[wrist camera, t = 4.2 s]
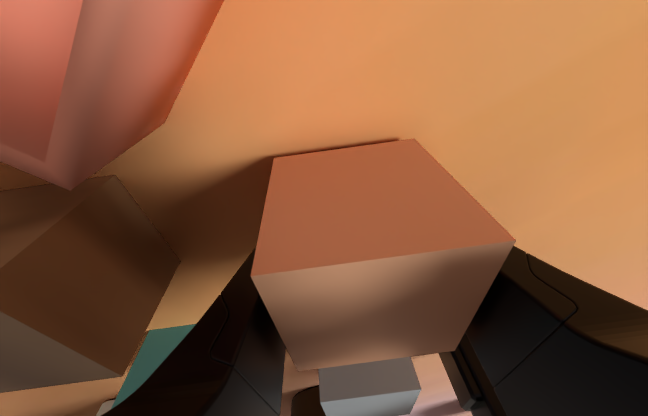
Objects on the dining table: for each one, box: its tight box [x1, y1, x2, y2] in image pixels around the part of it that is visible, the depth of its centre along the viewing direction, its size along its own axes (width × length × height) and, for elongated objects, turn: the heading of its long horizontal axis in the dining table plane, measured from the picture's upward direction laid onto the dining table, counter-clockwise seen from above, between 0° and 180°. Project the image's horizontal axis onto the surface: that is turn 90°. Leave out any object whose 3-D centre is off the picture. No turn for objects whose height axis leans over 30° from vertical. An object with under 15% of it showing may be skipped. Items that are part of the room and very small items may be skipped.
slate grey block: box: [318, 357, 421, 416], centre depth 15 cm, size 5×5×5 cm
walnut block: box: [0, 175, 181, 393], centre depth 8 cm, size 5×5×5 cm
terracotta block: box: [251, 139, 516, 371], centre depth 8 cm, size 5×5×5 cm
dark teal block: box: [111, 324, 196, 409], centre depth 15 cm, size 5×5×5 cm
